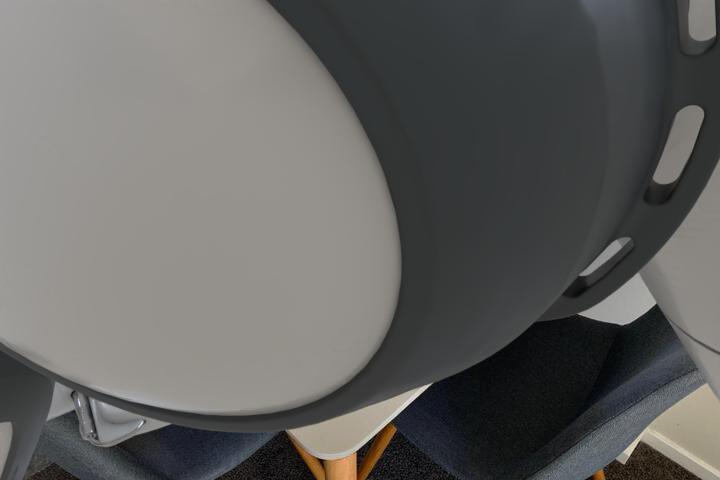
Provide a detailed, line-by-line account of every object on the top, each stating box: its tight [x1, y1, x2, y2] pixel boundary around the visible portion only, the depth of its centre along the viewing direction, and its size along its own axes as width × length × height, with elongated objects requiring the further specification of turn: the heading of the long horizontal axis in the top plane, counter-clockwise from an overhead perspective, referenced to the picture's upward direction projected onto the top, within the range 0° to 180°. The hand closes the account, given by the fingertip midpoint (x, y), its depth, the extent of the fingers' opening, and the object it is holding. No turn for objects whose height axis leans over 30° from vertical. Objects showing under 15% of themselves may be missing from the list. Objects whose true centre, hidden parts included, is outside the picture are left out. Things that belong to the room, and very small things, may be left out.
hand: (218, 300), depth 51 cm, fingers open, 8 cm apart
